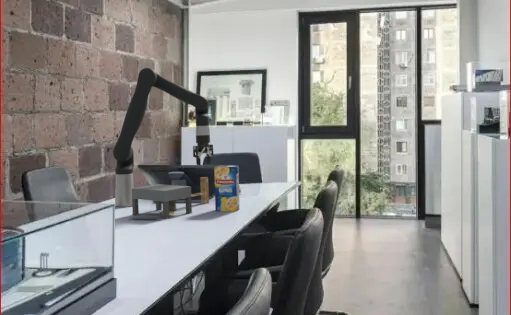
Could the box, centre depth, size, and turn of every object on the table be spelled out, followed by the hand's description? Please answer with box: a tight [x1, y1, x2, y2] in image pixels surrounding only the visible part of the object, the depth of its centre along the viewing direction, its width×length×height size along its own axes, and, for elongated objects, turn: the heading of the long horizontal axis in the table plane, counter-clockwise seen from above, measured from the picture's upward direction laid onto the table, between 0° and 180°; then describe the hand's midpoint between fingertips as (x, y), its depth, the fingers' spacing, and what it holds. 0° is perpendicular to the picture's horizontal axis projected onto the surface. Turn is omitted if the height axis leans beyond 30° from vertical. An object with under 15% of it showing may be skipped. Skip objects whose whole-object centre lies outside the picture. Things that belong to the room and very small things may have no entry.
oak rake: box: [169, 176, 210, 212], centre depth 301 cm, size 28×5×14 cm, turn 145°
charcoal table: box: [131, 183, 193, 220], centre depth 279 cm, size 22×18×13 cm
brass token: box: [160, 210, 175, 216], centre depth 279 cm, size 4×4×2 cm
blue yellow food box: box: [213, 164, 241, 212], centre depth 287 cm, size 7×11×22 cm, turn 81°
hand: (203, 164), depth 310 cm, fingers open, 8 cm apart
